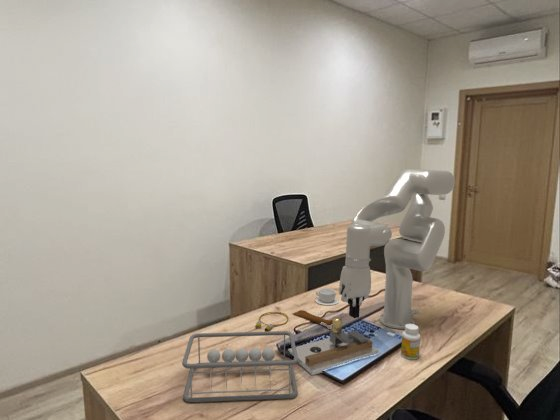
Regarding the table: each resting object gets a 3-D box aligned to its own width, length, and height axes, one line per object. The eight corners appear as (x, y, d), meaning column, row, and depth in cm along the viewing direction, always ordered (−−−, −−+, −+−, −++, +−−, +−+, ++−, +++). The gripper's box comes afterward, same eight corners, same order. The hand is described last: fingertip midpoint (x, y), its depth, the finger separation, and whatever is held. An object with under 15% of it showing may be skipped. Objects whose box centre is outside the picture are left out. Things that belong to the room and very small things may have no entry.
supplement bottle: (398, 351, 129) (400, 322, 127) (414, 350, 129) (416, 322, 128) (404, 360, 124) (406, 330, 122) (421, 359, 124) (423, 330, 123)
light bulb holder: (337, 340, 132) (338, 316, 131) (352, 351, 125) (353, 325, 124) (329, 342, 131) (330, 317, 130) (344, 353, 124) (345, 327, 123)
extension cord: (243, 323, 150) (243, 318, 149) (275, 311, 160) (275, 307, 160) (264, 334, 141) (264, 329, 140) (296, 322, 151) (297, 317, 151)
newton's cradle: (191, 365, 120) (181, 403, 102) (190, 332, 118) (180, 365, 100) (291, 362, 122) (298, 398, 104) (292, 330, 120) (299, 361, 103)
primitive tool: (291, 315, 157) (291, 306, 156) (301, 311, 161) (301, 303, 160) (329, 332, 143) (329, 322, 142) (338, 327, 147) (339, 318, 146)
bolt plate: (350, 336, 139) (351, 323, 138) (378, 354, 127) (379, 341, 126) (287, 353, 127) (288, 340, 126) (312, 375, 115) (312, 360, 114)
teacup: (342, 300, 172) (342, 289, 171) (332, 308, 163) (332, 297, 163) (321, 295, 177) (321, 285, 176) (310, 302, 169) (311, 292, 168)
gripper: (367, 257, 136) (364, 308, 139) (331, 262, 129) (328, 316, 132) (382, 263, 130) (379, 316, 132) (345, 268, 123) (342, 325, 125)
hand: (354, 316), depth 132 cm, fingers closed
